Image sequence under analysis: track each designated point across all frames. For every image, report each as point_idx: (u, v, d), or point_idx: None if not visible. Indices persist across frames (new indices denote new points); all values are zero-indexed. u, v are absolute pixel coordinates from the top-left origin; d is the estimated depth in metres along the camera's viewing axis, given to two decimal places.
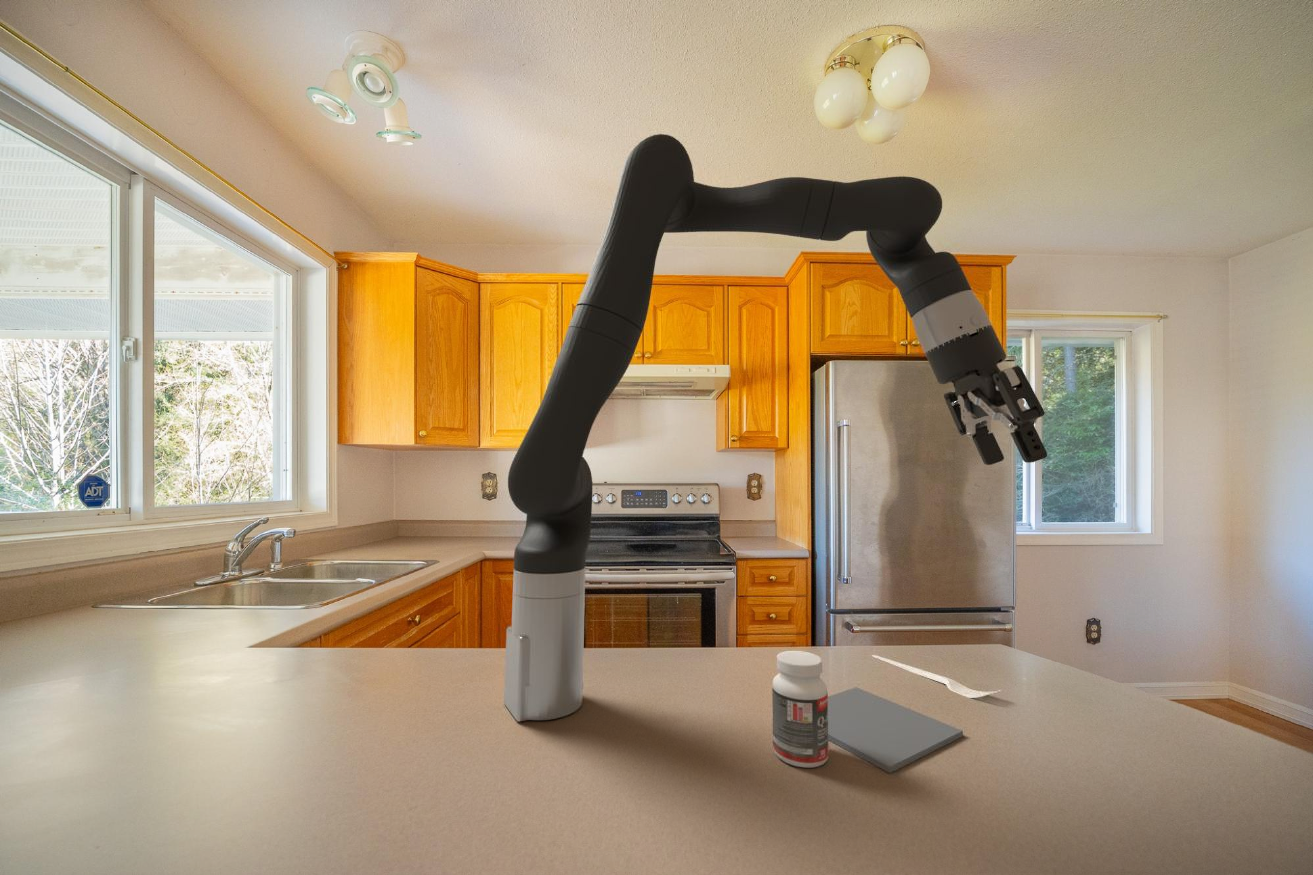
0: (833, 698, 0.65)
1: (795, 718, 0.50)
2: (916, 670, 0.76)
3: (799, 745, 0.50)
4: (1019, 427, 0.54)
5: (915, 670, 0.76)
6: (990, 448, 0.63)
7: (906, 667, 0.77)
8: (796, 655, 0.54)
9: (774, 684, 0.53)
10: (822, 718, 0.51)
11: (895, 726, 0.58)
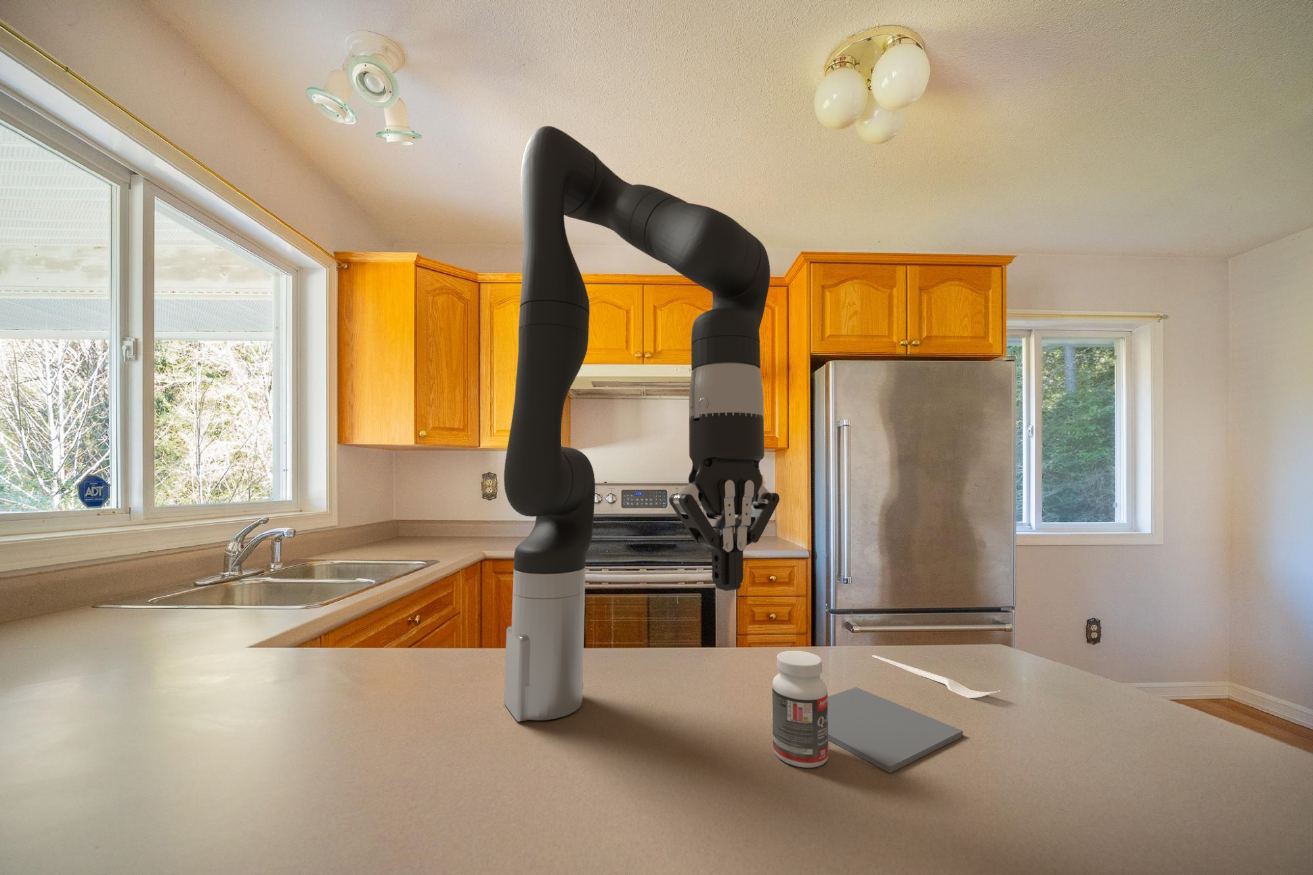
0: (833, 698, 0.65)
1: (795, 718, 0.50)
2: (916, 670, 0.75)
3: (799, 745, 0.50)
4: None
5: (915, 670, 0.76)
6: None
7: (906, 667, 0.77)
8: (796, 655, 0.54)
9: (774, 684, 0.53)
10: (822, 718, 0.51)
11: (895, 726, 0.58)
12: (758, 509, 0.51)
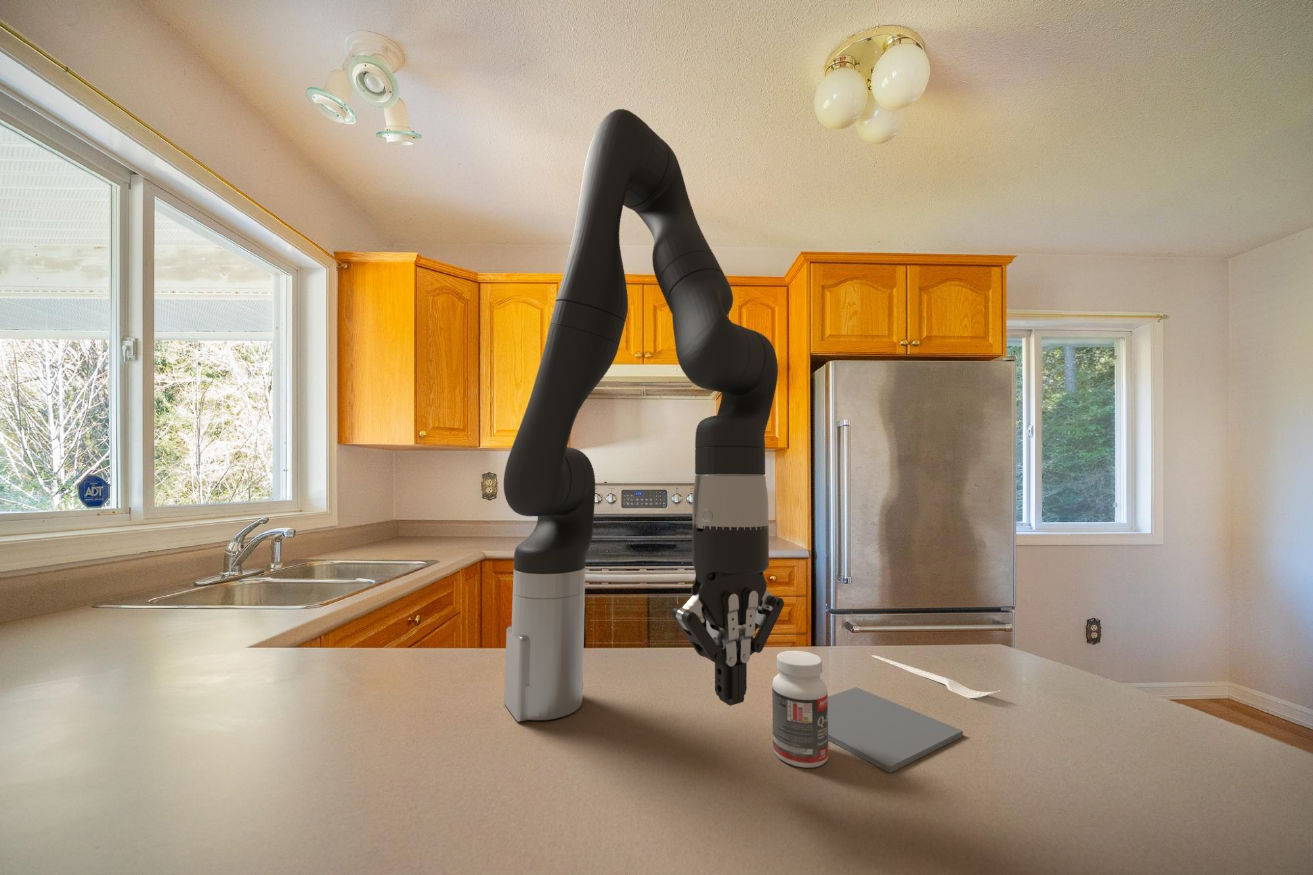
0: (833, 698, 0.65)
1: (795, 718, 0.50)
2: (916, 670, 0.75)
3: (799, 745, 0.50)
4: None
5: (915, 670, 0.76)
6: None
7: (906, 667, 0.77)
8: (796, 655, 0.54)
9: (774, 684, 0.53)
10: (822, 718, 0.51)
11: (895, 726, 0.58)
12: (762, 616, 0.50)
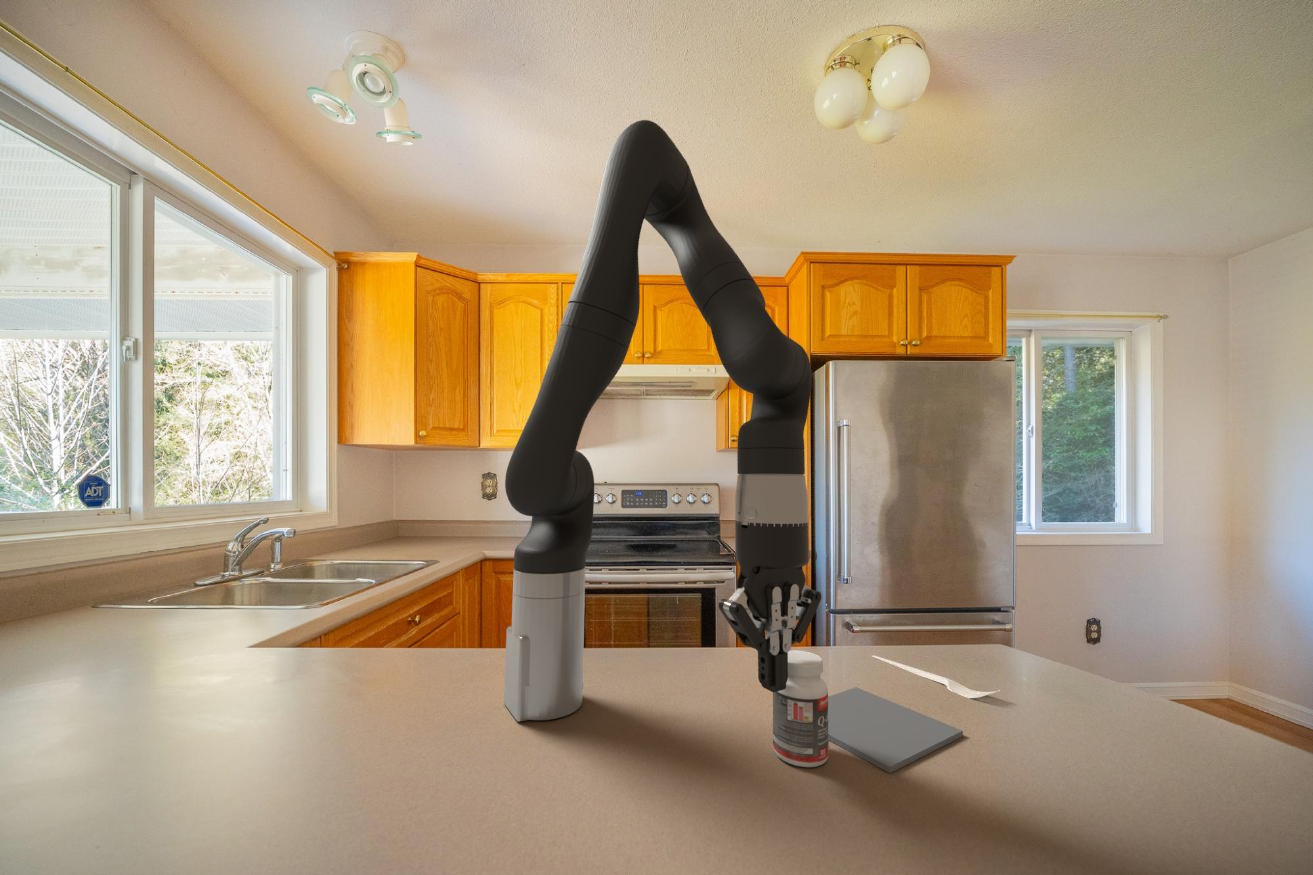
0: (833, 698, 0.65)
1: (795, 718, 0.50)
2: (915, 670, 0.75)
3: (800, 744, 0.50)
4: None
5: (914, 671, 0.76)
6: None
7: (906, 667, 0.77)
8: (796, 654, 0.54)
9: None
10: (823, 717, 0.51)
11: (895, 726, 0.58)
12: (801, 608, 0.53)
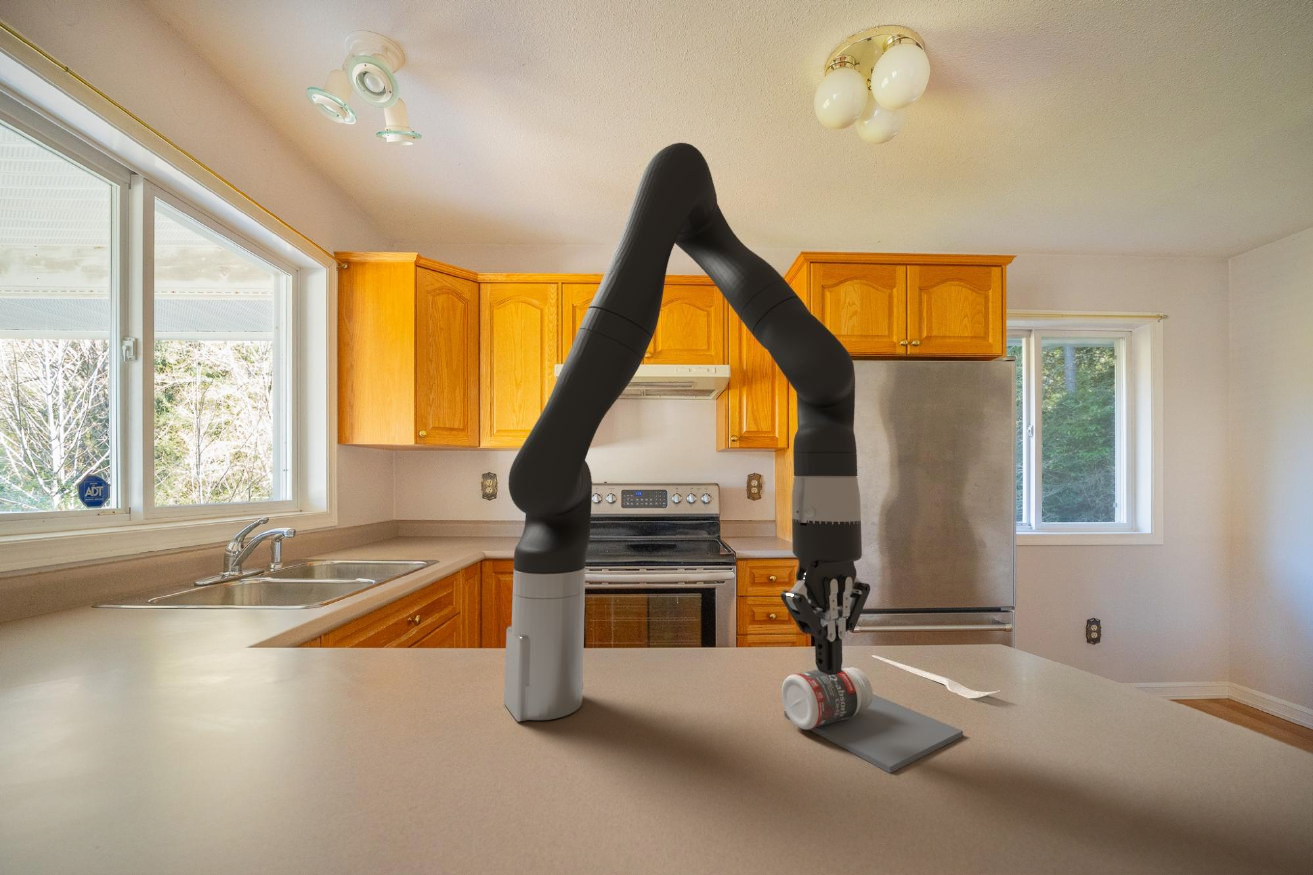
0: None
1: None
2: (915, 670, 0.75)
3: (804, 672, 0.59)
4: None
5: (914, 671, 0.76)
6: None
7: (905, 667, 0.77)
8: None
9: None
10: (836, 679, 0.58)
11: (895, 726, 0.58)
12: (852, 599, 0.58)
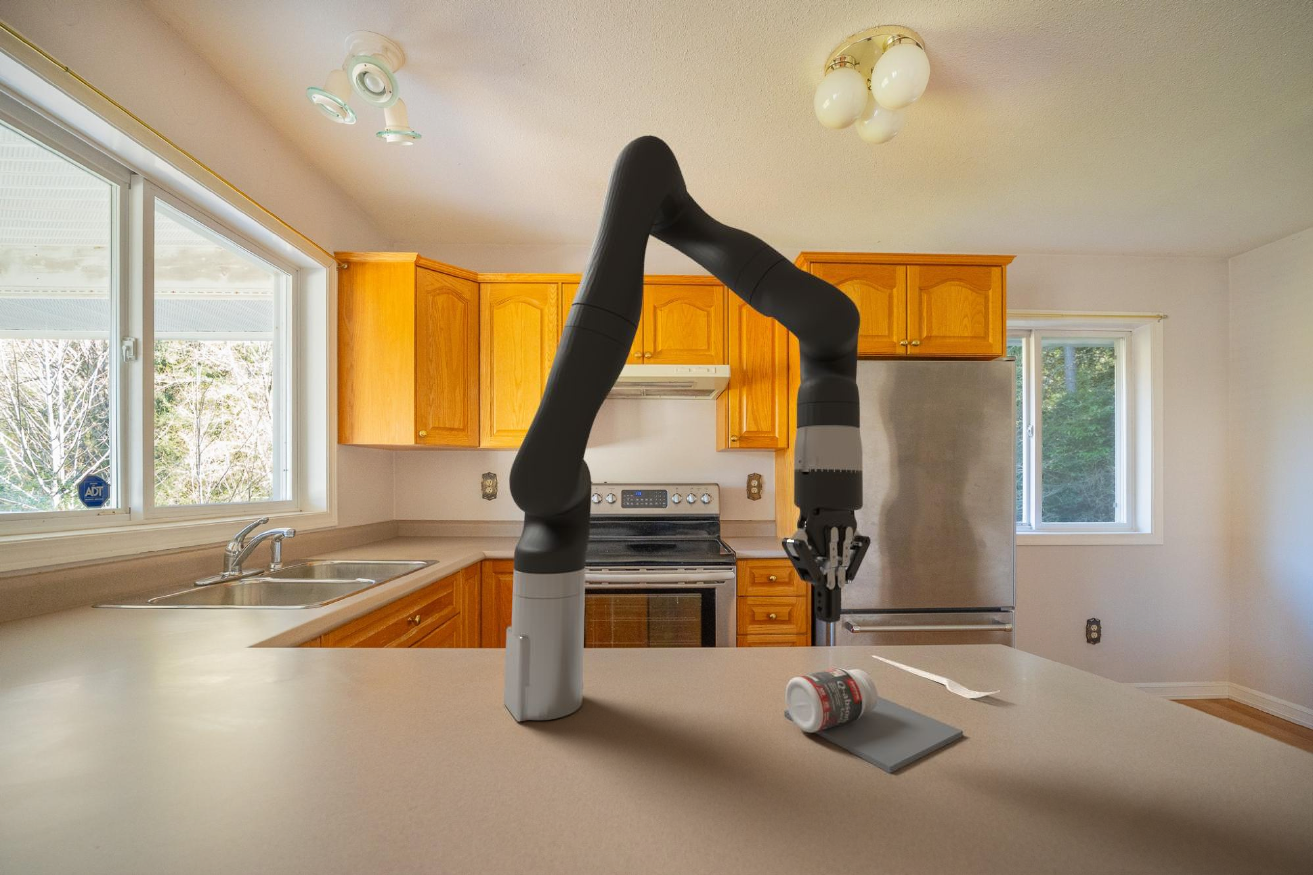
0: None
1: (826, 671, 0.60)
2: (915, 670, 0.75)
3: (812, 675, 0.58)
4: None
5: (914, 671, 0.76)
6: None
7: (905, 667, 0.77)
8: None
9: None
10: (844, 687, 0.57)
11: (895, 726, 0.58)
12: (852, 551, 0.59)
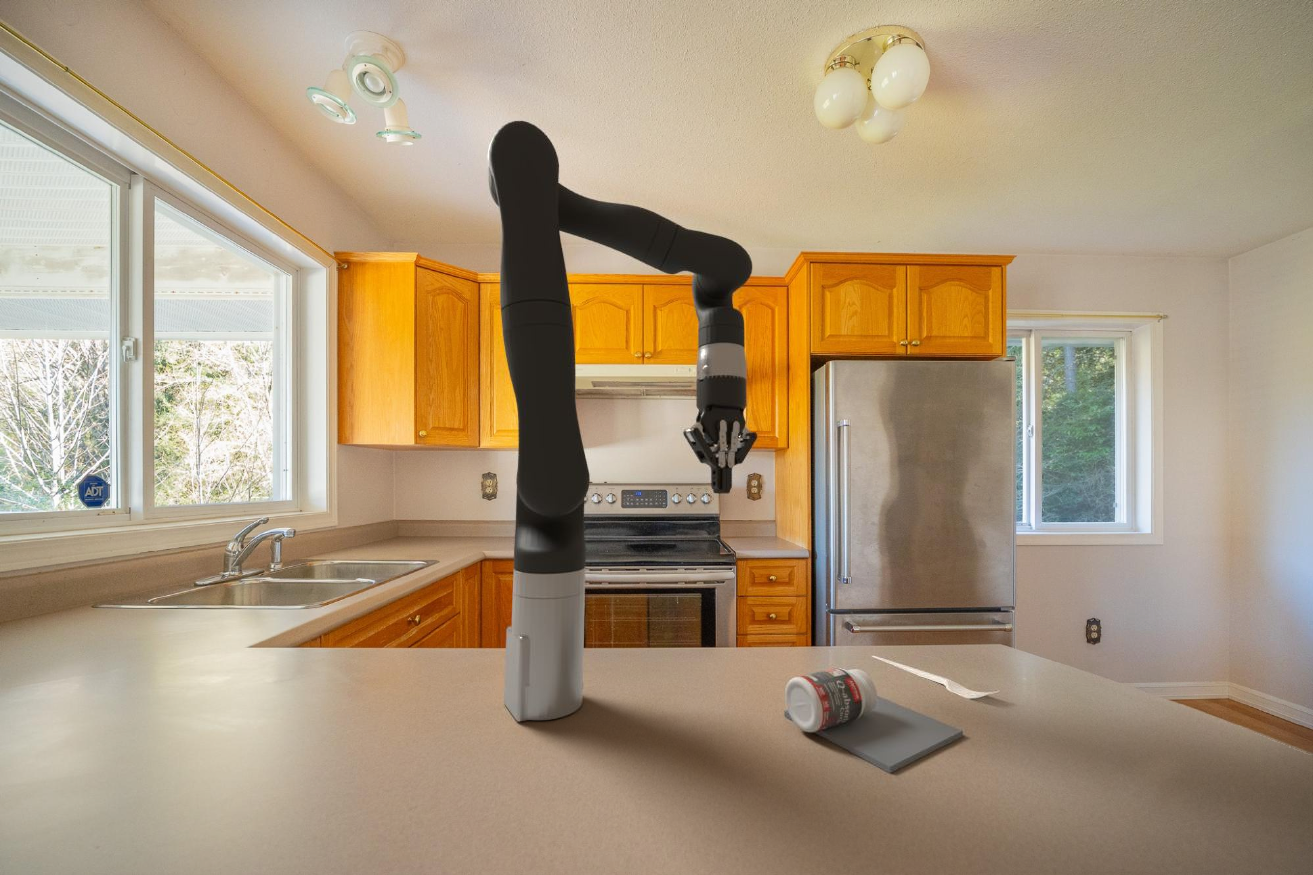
0: None
1: None
2: (915, 671, 0.75)
3: (812, 674, 0.58)
4: None
5: (914, 671, 0.75)
6: None
7: (905, 668, 0.77)
8: None
9: None
10: (843, 686, 0.57)
11: (895, 726, 0.58)
12: (742, 443, 0.76)
